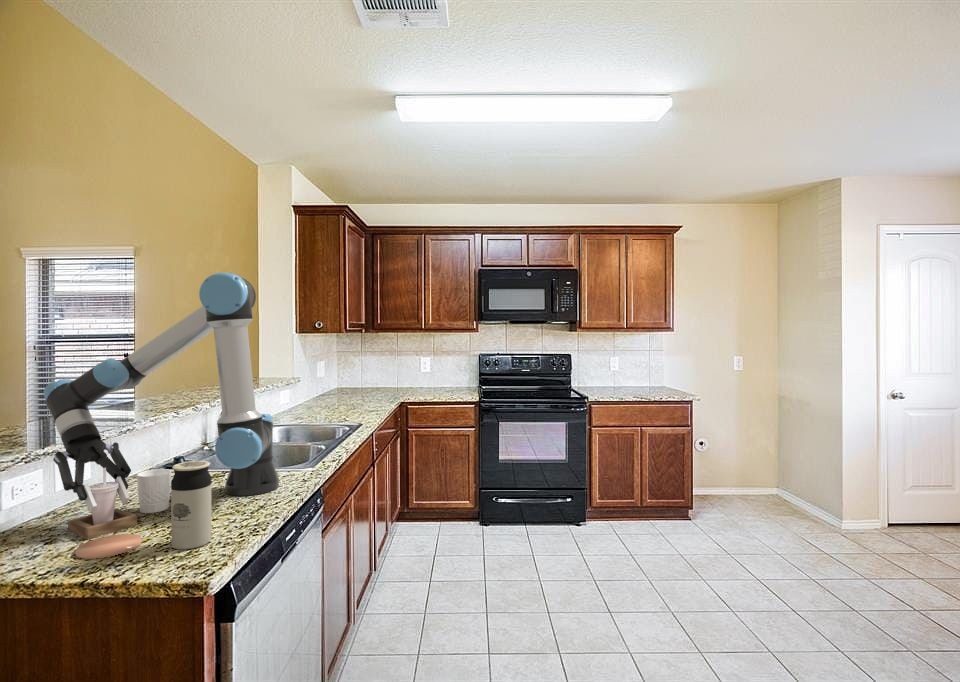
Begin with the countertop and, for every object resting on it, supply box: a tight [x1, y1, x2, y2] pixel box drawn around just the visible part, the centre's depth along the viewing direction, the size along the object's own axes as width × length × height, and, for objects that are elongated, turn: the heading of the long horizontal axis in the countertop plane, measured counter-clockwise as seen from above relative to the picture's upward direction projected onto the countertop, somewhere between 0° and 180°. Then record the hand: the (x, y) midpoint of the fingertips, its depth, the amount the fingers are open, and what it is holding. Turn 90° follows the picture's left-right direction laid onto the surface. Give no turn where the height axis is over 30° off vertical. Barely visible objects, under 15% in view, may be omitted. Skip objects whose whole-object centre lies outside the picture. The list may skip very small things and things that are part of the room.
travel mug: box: [170, 460, 212, 550], centre depth 118 cm, size 8×8×18 cm
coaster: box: [75, 533, 143, 560], centre depth 115 cm, size 12×12×1 cm
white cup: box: [136, 468, 172, 514], centre depth 141 cm, size 8×8×10 cm
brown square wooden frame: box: [67, 507, 138, 540], centre depth 127 cm, size 10×10×2 cm
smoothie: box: [89, 467, 119, 525], centre depth 127 cm, size 6×6×14 cm
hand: (110, 505), depth 125 cm, fingers closed on smoothie, 6 cm apart
